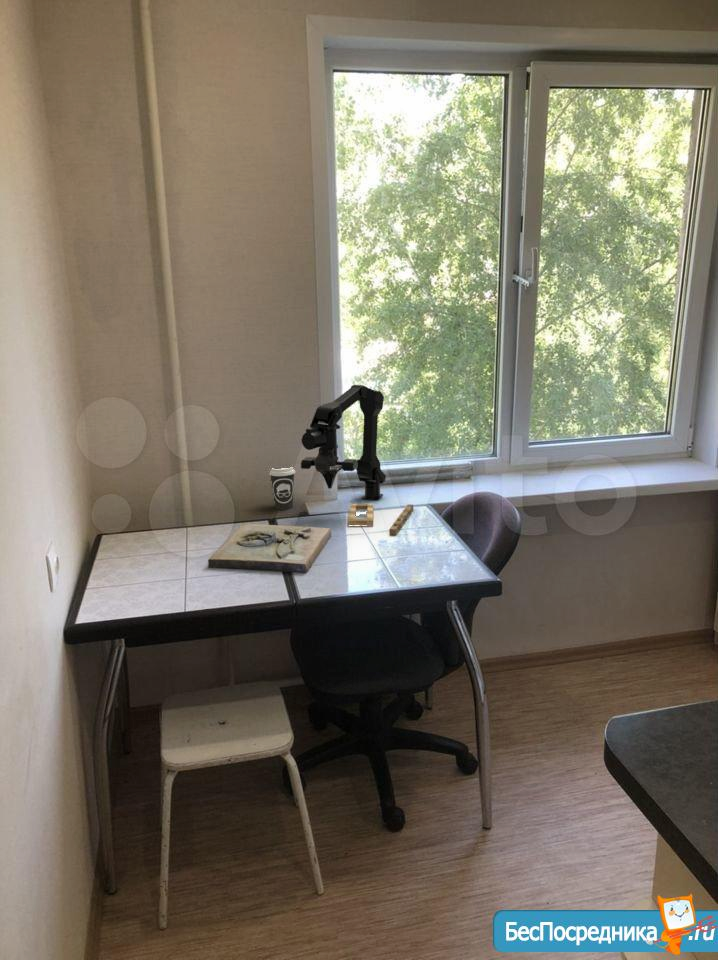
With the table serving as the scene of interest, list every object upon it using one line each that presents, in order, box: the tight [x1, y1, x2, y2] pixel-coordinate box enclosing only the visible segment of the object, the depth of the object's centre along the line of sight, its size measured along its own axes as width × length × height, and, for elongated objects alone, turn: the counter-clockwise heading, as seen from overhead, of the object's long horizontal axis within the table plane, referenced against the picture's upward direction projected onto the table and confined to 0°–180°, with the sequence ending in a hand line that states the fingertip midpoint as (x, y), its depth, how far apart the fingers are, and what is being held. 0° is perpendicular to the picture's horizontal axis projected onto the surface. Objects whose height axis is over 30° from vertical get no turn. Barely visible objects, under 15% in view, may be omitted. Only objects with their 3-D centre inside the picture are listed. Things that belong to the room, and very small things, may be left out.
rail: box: [388, 504, 414, 536], centre depth 243 cm, size 26×2×3 cm, turn 163°
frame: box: [348, 503, 374, 526], centre depth 249 cm, size 18×8×2 cm, turn 178°
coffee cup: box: [268, 466, 296, 511], centre depth 260 cm, size 10×10×15 cm
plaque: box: [207, 523, 332, 574], centre depth 220 cm, size 30×7×30 cm
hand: (330, 488), depth 250 cm, fingers closed
